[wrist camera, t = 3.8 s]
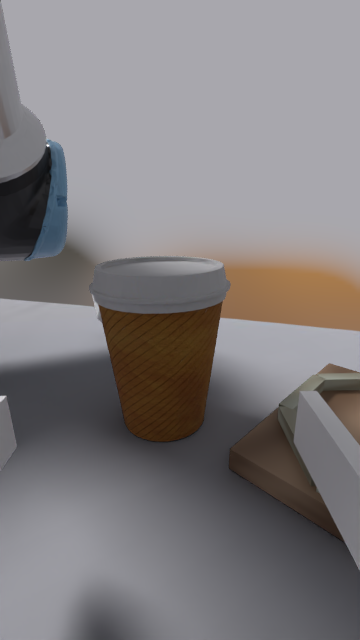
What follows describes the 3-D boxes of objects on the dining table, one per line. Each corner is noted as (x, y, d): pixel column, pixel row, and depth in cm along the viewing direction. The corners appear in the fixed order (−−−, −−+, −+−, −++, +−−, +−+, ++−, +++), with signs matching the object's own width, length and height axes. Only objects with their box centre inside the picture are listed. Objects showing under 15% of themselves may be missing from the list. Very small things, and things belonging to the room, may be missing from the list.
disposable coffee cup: (219, 385, 30) (224, 254, 26) (231, 461, 21) (240, 278, 17) (118, 384, 30) (107, 255, 26) (86, 458, 21) (63, 278, 17)
